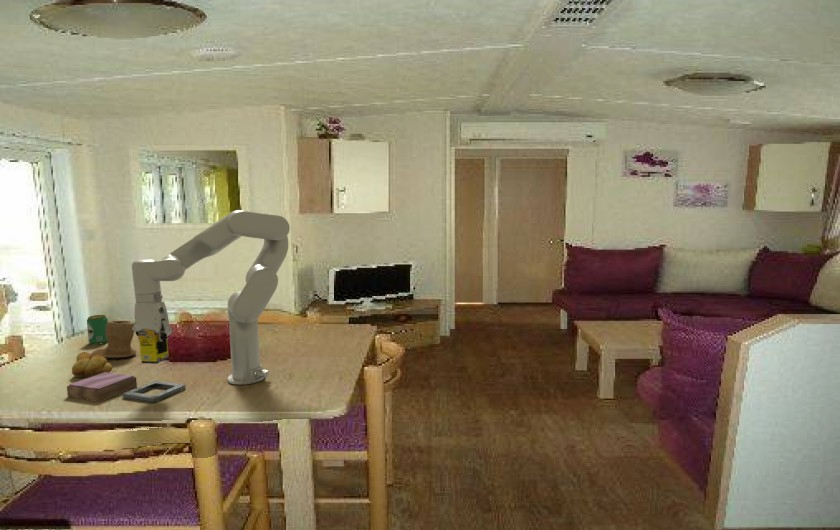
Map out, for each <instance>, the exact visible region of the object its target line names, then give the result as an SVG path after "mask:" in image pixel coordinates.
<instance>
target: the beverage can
mask: <svg viewBox="0 0 840 530" xmlns="http://www.w3.org/2000/svg"><path fill="white" fill-rule="evenodd" d="M108 322H109V319H108V317H107V316H106V314H95V315H90V316H88V317H87V319H86V326H87V327H86V328H87V338H88V343H89V344H90V345H92V344H97V345H101V344H100V343H103V344H106V343H105V342H107V337H106V324H107V323H108ZM107 343H108V342H107Z"/></svg>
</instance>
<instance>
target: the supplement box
mask: <svg viewBox="0 0 840 530" xmlns="http://www.w3.org/2000/svg"><path fill="white" fill-rule="evenodd" d="M164 330H165V329H164ZM160 331H162V329H160ZM138 334H139V339H138V342H139V350H140V351H139V352H140V361H141V364H151V365H153V364H154V365H156V364H159V363H161V362H163V361H165V360H168V359H170V356H169V348H168V347H169V345H168V344H169V343H167V352H164V353H161V354H159V353H158V346H157V342H159V340H158V338H157V333H155V331H151V330H139V331H138ZM160 335H161V336H162V333H160ZM166 341H167V342H168V339H167V340H166Z"/></svg>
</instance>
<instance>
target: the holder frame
mask: <svg viewBox="0 0 840 530" xmlns="http://www.w3.org/2000/svg"><path fill="white" fill-rule="evenodd" d="M154 387H155V388H156V387H159V388H158V389H163V388H165V389H164V390H163V391H161V392H159V393H157V394H156V393H155V395H154V394H147V393H146V392H148V391H150V390H152V388H153V389H154ZM149 389H150V390H149ZM147 390H148V391H147ZM181 390H182V391H184V390H186V384H184V383H183V384H182V383H176V382H175V383H174V382H168V381H161V380H153V381H150V382H149V383H145V384H143V385H141V386H138V387H135V388H133V389H130V390H128V391H125V392H123V393H122V399H125V400H131V399H132V401H139V402H144V403H145V402H146V403H150V404H151V403H152V404H155V403H158V402H159V401H162V400H164V399H166V397H167V398H168V397H171V396H173V395H175V394H178V393H180V392H182V391H181ZM179 391H180V392H179ZM177 392H178V393H177Z"/></svg>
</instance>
